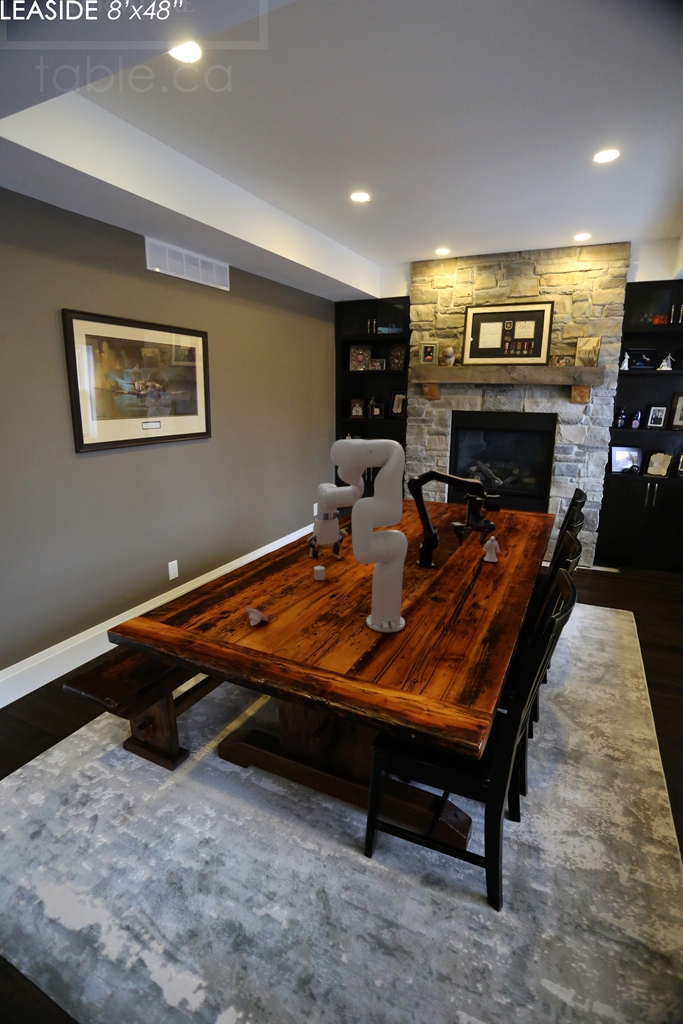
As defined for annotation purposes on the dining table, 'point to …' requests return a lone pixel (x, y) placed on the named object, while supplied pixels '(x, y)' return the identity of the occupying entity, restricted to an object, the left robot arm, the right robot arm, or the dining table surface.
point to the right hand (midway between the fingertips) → (471, 546)
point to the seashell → (255, 616)
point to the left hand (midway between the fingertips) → (325, 556)
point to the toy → (330, 545)
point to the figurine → (491, 550)
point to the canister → (319, 573)
